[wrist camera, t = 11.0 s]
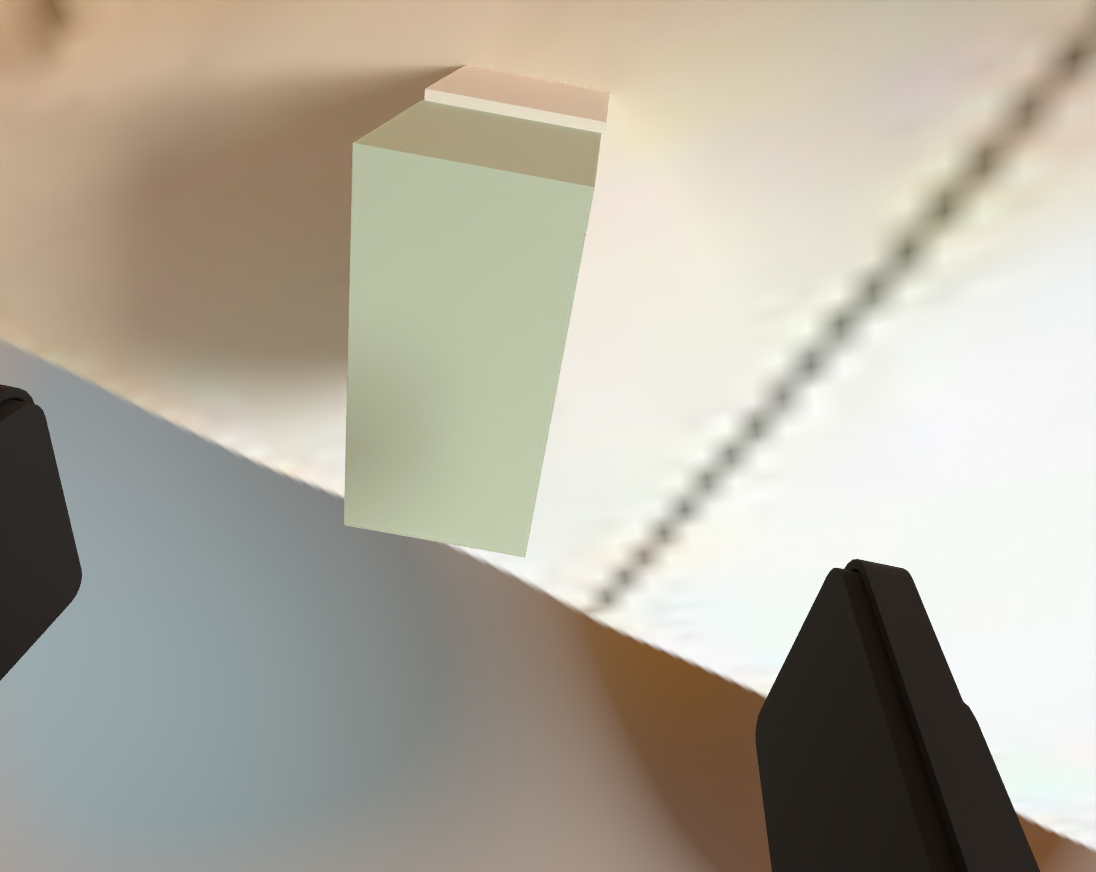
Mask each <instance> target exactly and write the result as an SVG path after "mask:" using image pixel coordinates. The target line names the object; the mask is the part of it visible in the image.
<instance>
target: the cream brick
mask: <svg viewBox="0 0 1096 872" xmlns="http://www.w3.org/2000/svg"><path fill="white" fill-rule="evenodd" d="M609 93H610V92H606V91H600V90H595V89H589V88H584V87H579V86H573V85H568V84H563V83H557V82H552V81H547V80H541V79H536V78H531V77H525V76H520V75H514V74H509V73H504V72H498V71H493V70H488V69H482V68H477V67H472V66H466V65H465V66H463V67H461V68H460V69H458V70H456V71H454V72H453V73H451V74H449V75H448V76H446V77H444V78H442V79H441V80H439V81H437V82H435V83H434V84H432V85H430V86H428V87H427V88H425V96H424V100H425V101H431V102H436V103H442V104H447V105H452V106H458V107H463V108H469V109H474V110H479V111H485V112H490V113H496V114H501V115H506V116H512V117H517V118H523V119H528V120H533V121H539V122H544V123H550V124H555V125H560V126H566V127H571V128H577V129H582V130H587V131H593V132H598V133H602V134H601V141H600V149H599V157H598V163H599V158H600V153H601V147H602V142H603V137H604V131H605V126H606V120H607V111H608V102H609ZM597 169H598V164H597ZM596 174H597V172H596Z"/></svg>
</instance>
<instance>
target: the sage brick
mask: <svg viewBox="0 0 1096 872" xmlns="http://www.w3.org/2000/svg"><path fill="white" fill-rule="evenodd" d="M601 134H602V133H598V132H593V131H587V130H582V129H577V128H571V127H566V126H560V125H555V124H550V123H544V122H539V121H533V120H528V119H523V118H517V117H512V116H506V115H501V114H496V113H490V112H485V111H479V110H474V109H469V108H463V107H458V106H452V105H447V104H442V103H436V102H431V101H425V100H421V101H419V102H417V103H416V104H414V105H412V106H411V107H409V108H408V109H406V110H404V111H403V112H401V113H400V114H398V115H396V116H395V117H393V118H392V119H390V120H388V121H387V122H385V123H384V124H382V125H380V126H379V127H377V128H376V129H374V130H372V131H371V132H369V133H368V134H366V135H364V136H363V137H361V138H360V139H358V140H356V141H355V142H353V153H352V197H351V240H350V284H349V328H348V371H347V415H346V459H345V503H344V504H345V505H344V525H347V526H352V527H358V528H364V529H370V530H375V531H381V532H387V533H392V534H398V535H403V536H409V537H414V538H420V539H425V540H431V541H436V542H442V543H448V544H453V545H459V546H464V547H470V548H476V549H481V550H487V551H492V552H498V553H504V554H509V555H515V556H520V557H525V555H526V550H527V545H528V539H529V534H530V529H531V523H532V518H533V513H534V507H535V502H536V497H537V491H538V486H539V481H540V475H541V470H542V465H543V459H544V454H545V449H546V443H547V438H548V433H549V427H550V422H551V417H552V411H553V406H554V401H555V395H556V390H557V385H558V379H559V374H560V369H561V363H562V358H563V353H564V347H565V342H566V337H567V331H568V326H569V321H570V315H571V310H572V305H573V299H574V294H575V289H576V283H577V278H578V273H579V267H580V262H581V257H582V251H583V246H584V241H585V235H586V230H587V225H588V219H589V214H590V209H591V203H592V198H593V193H594V187H595V179H596V172H597V164H598V157H599V149H600V141H601Z"/></svg>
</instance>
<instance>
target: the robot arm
mask: <svg viewBox="0 0 1096 872" xmlns="http://www.w3.org/2000/svg"><path fill="white" fill-rule="evenodd" d="M81 579H82V571H81V566H80V562H79V557H78V553H77V549H76V545H75V540H74V536H73V532H72V528H71V523H70V519H69V515H68V511H67V506H66V503H65V498H64V494H63V489H62V485H61V481H60V477H59V472H58V468H57V464H56V460H55V455H54V451H53V447H52V443H51V439H50V434H49V430H48V426H47V421H46V417H45V415H44V412H43V410H42V409H41V408H40V407H39V406H38V405H35V404H34V402H33V399H32V397H31V396H30V395H29V394H28V393H27V392H26V391H24V390H22V389H19V388H15V387H10V386H6V385H0V680H1V679H2V678H3V677H4V676H5V675H6V674H7V673H8V671H9V670H10V669H11V668H12V667H13V666H14V665H15V664H16V663H17V662H18V660H19V659H20V658H21V657H22V656H23V655H24V654H25V653H26V652H27V651H28V649H29V648H30V647H31V646H32V645H33V644H34V643H35V642H36V641H37V639H38V638H39V637H40V636H41V635H42V634H43V633H44V632H45V631H46V630H47V628H48V627H49V626H50V625H51V624H52V623H53V622H54V621H55V620H56V618H57V617H58V616H59V615H60V614H61V613H62V612H63V610H65V608H66V607H67V606H68V605H69V604H70V603H71V602H72V600H73V599H74V597H75V596H76V594H77V592H78V590H79V587H80V584H81ZM756 749H757V755H758V756H757V757H758V765H759V772H760V780H761V788H762V796H763V804H764V812H765V820H766V827H767V836H768V843H769V851H770V859H771V867H772V872H1040V870H1039V868H1038V865H1037V863H1036V860H1035V858H1034V856H1033V853H1032V851H1031V849H1030V846H1029V844H1028V841H1027V839H1026V837H1025V834H1024V832H1023V829H1022V827H1021V825H1020V822H1019V820H1018V817H1017V815H1016V813H1015V810H1014V808H1013V806H1012V803H1011V801H1010V798H1009V796H1008V794H1007V791H1006V789H1005V786H1004V784H1003V782H1002V779H1001V777H1000V774H999V772H998V770H997V767H996V765H995V763H994V760H993V758H992V755H991V753H990V751H989V748H988V746H987V743H986V741H985V739H984V736H983V734H982V732H981V729H980V727H979V724H978V722H977V720H976V718H975V716H974V715H973V713H972V711H971V709H970V708H969V706H968V705H966V704H965V703H964V702H963V700H962V698H961V695H960V693H959V690H958V688H957V686H956V683H955V681H954V678H953V676H952V673H951V671H950V669H949V666H948V664H947V661H946V659H945V656H944V654H943V651H942V649H941V647H940V644H939V642H938V639H937V637H936V634H935V632H934V630H933V627H932V625H931V622H930V620H929V617H928V615H927V613H926V610H925V608H924V605H923V603H922V600H921V598H920V596H919V593H918V591H917V588H916V586H915V583H914V581H913V579H912V577H911V575H910V574H909V572H908V571H906V570H905V569H903V568H898V567H894V566H889V565H884V564H879V563H874V562H869V561H864V560H859V559H854V560H852V561H850V562H849V563H848V564H847V566H846V567H845V569H840V568H833V569H832V570H831V571H830V572H829V574H828V575H827V577H826V579H825V581H824V583H823V585H822V587H821V589H820V591H819V593H818V595H817V597H816V599H815V601H814V603H813V605H812V607H811V609H810V611H809V613H808V615H807V618H806V620H805V622H804V624H803V626H802V628H801V630H800V632H799V634H798V636H797V638H796V640H795V642H794V644H793V646H792V648H791V650H790V652H789V654H788V656H787V658H786V660H785V662H784V664H783V666H782V668H781V670H780V672H779V674H778V676H777V678H776V680H775V682H774V684H773V686H772V688H771V690H770V692H769V694H768V696H767V698H766V700H765V703H764V705H763V707H762V709H761V711H760V713H759V716H758V720H757V726H756Z"/></svg>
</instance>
